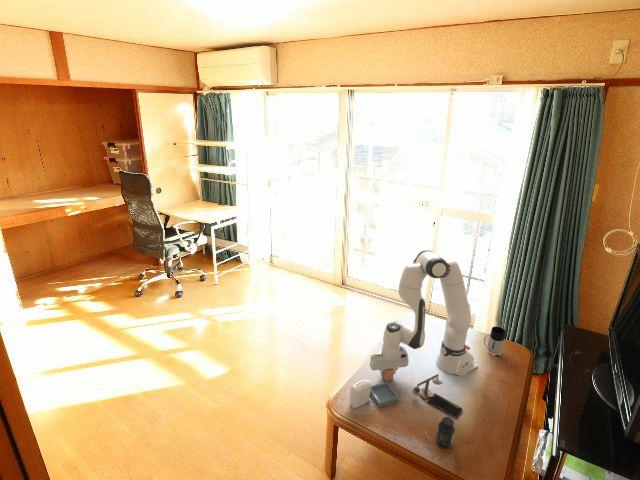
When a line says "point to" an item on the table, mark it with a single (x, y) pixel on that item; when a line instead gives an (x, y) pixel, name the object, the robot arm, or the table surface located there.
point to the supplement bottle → (445, 432)
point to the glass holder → (495, 340)
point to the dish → (383, 394)
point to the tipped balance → (426, 387)
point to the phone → (445, 406)
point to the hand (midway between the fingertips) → (387, 373)
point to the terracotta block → (388, 374)
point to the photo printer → (360, 393)
